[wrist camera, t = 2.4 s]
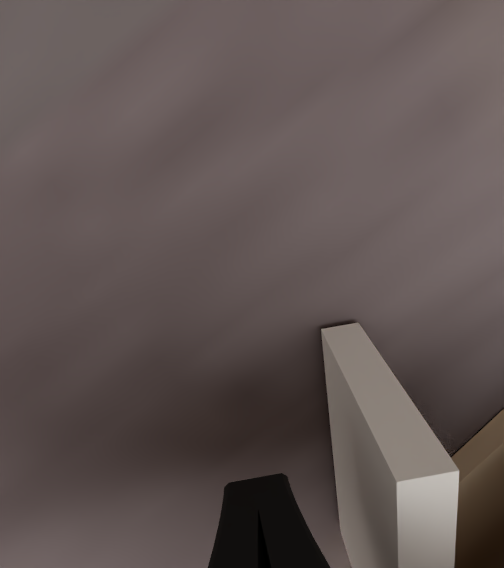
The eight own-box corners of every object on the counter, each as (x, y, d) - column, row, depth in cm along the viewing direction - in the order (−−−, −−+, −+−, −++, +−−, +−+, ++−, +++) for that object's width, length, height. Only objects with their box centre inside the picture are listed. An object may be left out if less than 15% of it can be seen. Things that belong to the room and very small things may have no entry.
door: (358, 322, 11) (459, 470, 7) (370, 525, 14) (446, 724, 10) (321, 328, 11) (396, 482, 7) (340, 530, 14) (401, 732, 10)
